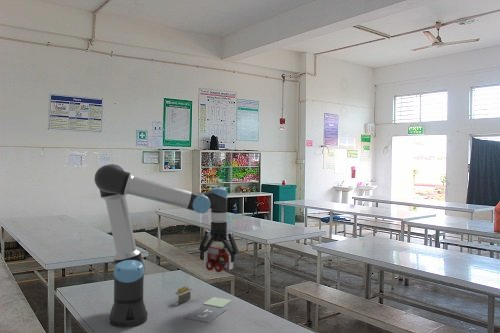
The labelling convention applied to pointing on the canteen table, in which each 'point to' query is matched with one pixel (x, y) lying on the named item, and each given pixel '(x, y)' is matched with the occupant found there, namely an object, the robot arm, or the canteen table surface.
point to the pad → (217, 302)
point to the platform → (183, 294)
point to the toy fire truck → (217, 259)
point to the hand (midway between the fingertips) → (218, 267)
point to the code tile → (205, 313)
